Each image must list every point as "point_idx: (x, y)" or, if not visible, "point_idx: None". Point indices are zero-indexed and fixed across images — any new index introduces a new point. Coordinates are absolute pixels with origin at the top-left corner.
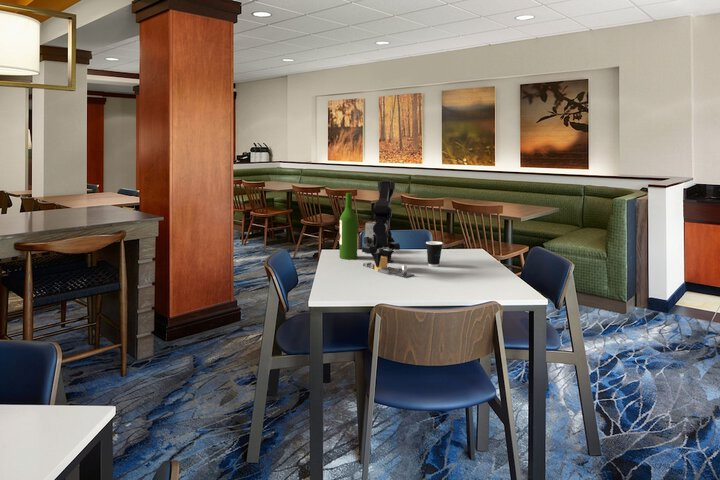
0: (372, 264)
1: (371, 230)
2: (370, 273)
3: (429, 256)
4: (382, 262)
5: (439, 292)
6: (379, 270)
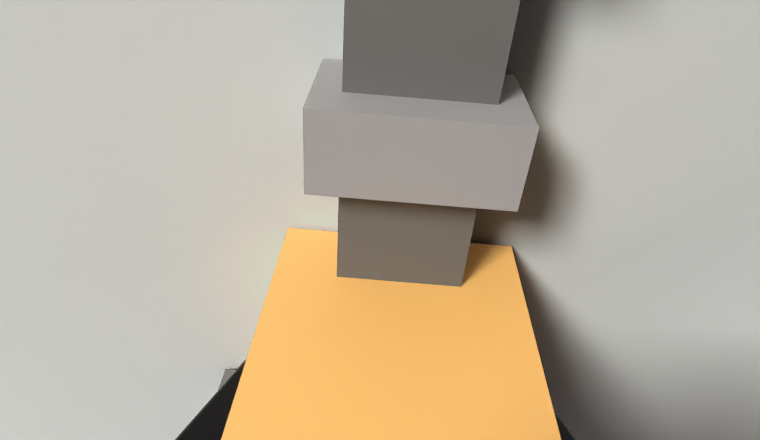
0: (324, 162)
1: None
2: (7, 364)
3: None
4: None
5: None
6: None
